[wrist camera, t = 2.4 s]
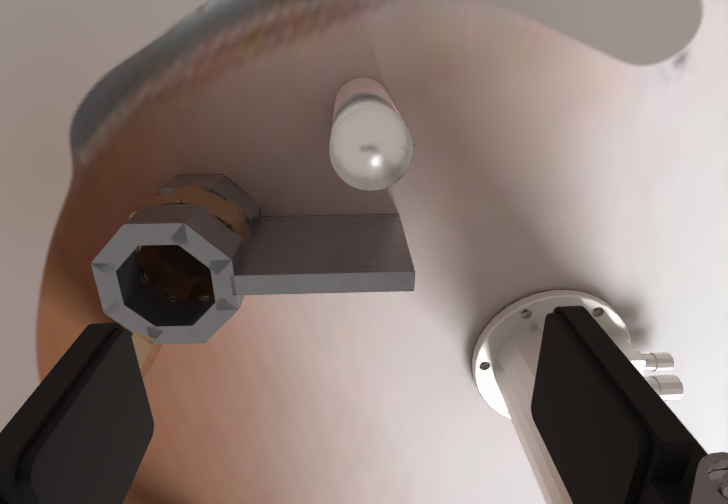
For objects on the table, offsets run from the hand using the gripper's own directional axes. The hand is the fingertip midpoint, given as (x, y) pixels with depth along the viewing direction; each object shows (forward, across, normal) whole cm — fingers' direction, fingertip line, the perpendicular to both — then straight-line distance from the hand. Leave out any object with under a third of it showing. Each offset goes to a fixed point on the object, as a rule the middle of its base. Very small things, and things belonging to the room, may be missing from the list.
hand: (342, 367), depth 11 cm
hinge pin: (+24, -2, -2) cm, 24 cm away
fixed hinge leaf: (+24, +5, +6) cm, 25 cm away
